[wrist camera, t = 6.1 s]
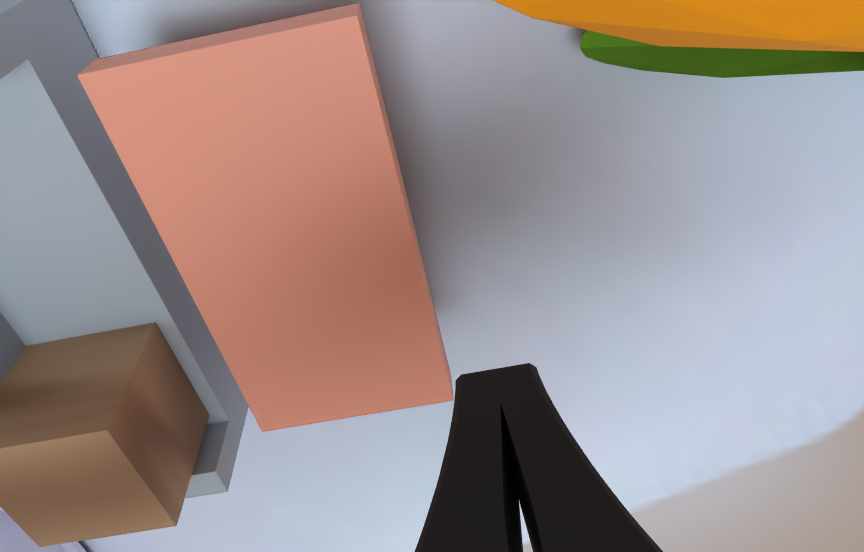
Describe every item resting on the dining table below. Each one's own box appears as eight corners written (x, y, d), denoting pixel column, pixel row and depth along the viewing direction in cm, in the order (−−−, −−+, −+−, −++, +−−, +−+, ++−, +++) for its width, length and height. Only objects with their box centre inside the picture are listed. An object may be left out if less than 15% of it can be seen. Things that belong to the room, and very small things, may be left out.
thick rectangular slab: (268, 402, 21) (450, 372, 21) (262, 431, 21) (453, 400, 20) (98, 56, 15) (360, 0, 14) (76, 75, 14) (356, 15, 13)
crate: (209, 415, 21) (176, 526, 18) (92, 434, 22) (39, 547, 18) (156, 322, 19) (106, 430, 16) (26, 345, 19) (-49, 456, 16)
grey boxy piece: (266, 398, 25) (238, 527, 21) (141, 419, 26) (88, 551, 21) (34, -74, 16) (-109, -20, 11) (-159, -29, 16) (-370, 40, 12)
